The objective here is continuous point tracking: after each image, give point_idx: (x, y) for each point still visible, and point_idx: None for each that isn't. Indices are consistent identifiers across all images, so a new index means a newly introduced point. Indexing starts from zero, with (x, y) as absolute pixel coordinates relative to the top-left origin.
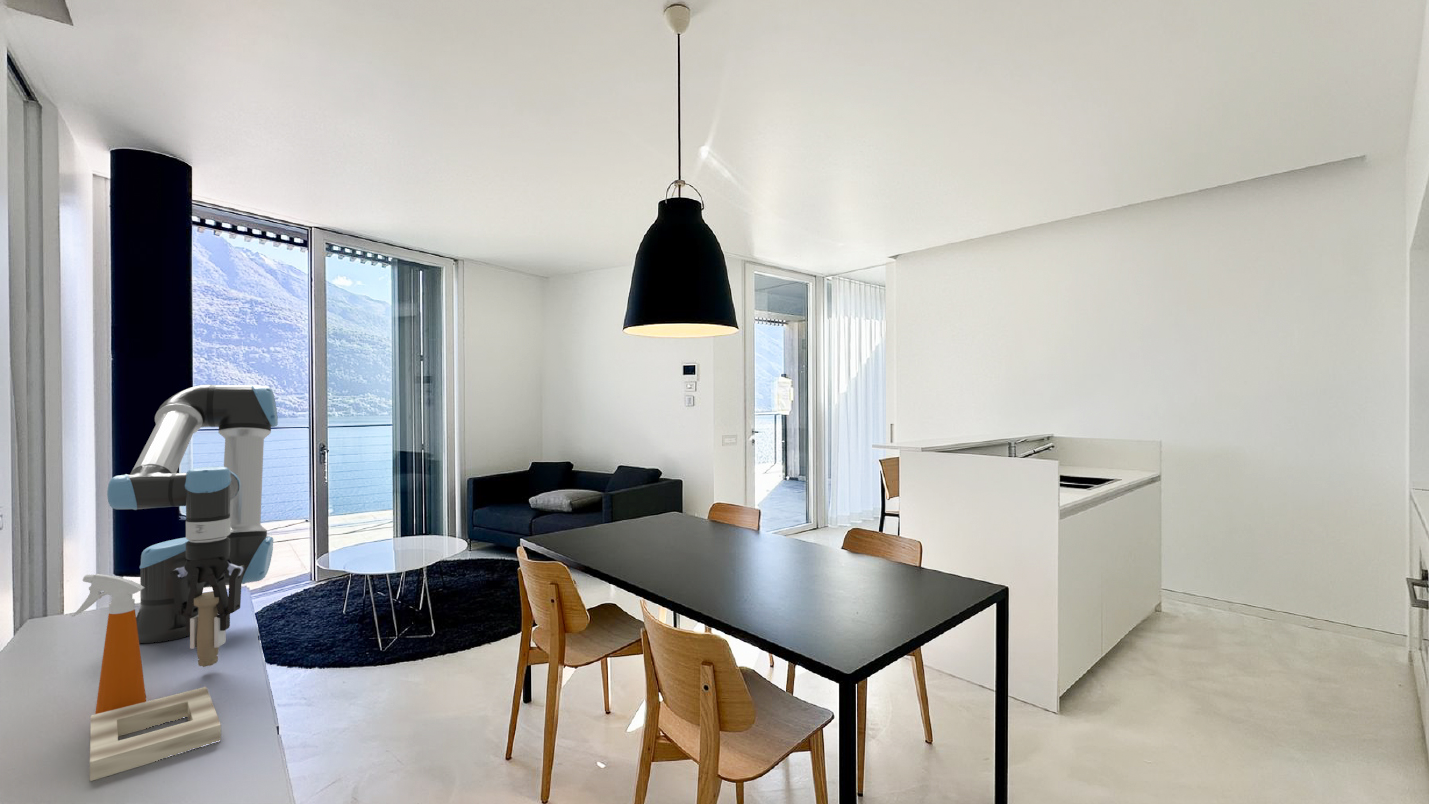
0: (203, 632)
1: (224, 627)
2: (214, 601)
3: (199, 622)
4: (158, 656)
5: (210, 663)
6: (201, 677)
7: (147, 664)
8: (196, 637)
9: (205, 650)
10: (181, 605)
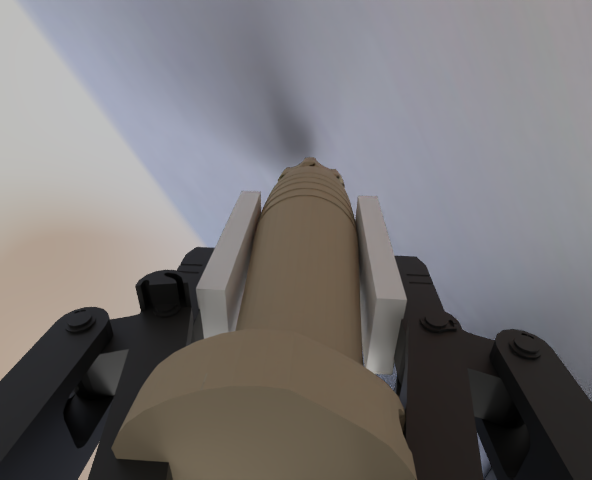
0: (299, 222)
1: (194, 258)
2: (144, 389)
3: (332, 272)
4: (550, 340)
5: (289, 169)
6: (310, 127)
7: (565, 286)
8: (359, 239)
9: (296, 178)
10: (527, 410)
